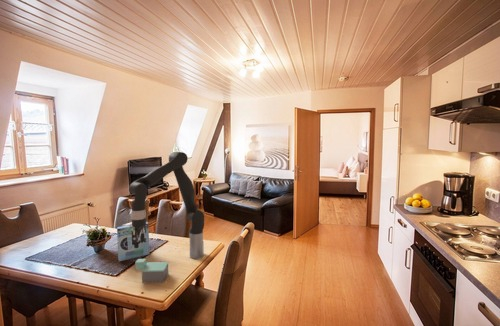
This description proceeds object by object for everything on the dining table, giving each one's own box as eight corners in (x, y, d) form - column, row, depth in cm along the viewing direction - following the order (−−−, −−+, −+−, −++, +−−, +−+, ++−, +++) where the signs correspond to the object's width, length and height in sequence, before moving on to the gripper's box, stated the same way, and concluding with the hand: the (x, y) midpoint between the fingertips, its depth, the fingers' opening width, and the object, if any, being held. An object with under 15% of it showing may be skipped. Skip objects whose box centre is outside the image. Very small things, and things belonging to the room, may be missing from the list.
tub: (168, 274, 147) (168, 263, 146) (163, 283, 138) (163, 271, 137) (148, 274, 146) (147, 263, 145) (142, 283, 137) (141, 271, 136)
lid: (168, 263, 146) (168, 256, 146) (163, 271, 137) (163, 264, 136) (140, 263, 145) (140, 256, 145) (133, 272, 136) (133, 264, 136)
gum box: (148, 251, 176) (147, 221, 174) (149, 254, 172) (148, 223, 169) (118, 258, 165) (116, 226, 163) (118, 262, 161) (117, 228, 159)
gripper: (140, 221, 131) (141, 250, 133) (150, 213, 145) (150, 239, 147) (126, 221, 131) (127, 250, 132) (137, 213, 145) (138, 239, 146)
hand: (139, 244), depth 139 cm, fingers open, 8 cm apart
